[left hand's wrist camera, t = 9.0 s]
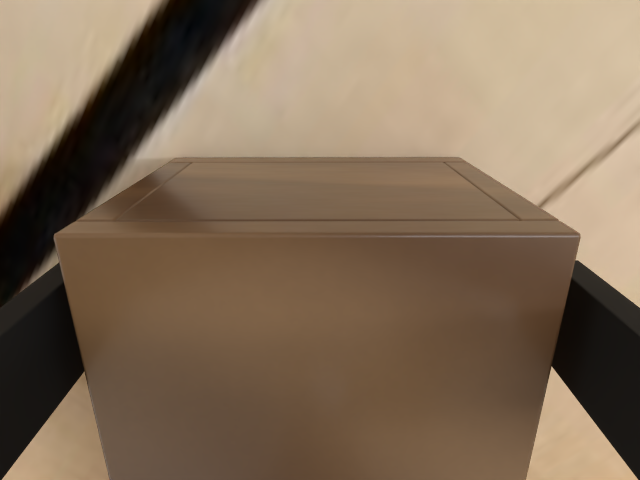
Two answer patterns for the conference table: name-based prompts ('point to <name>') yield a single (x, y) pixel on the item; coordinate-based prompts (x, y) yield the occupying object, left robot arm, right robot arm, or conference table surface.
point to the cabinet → (317, 320)
